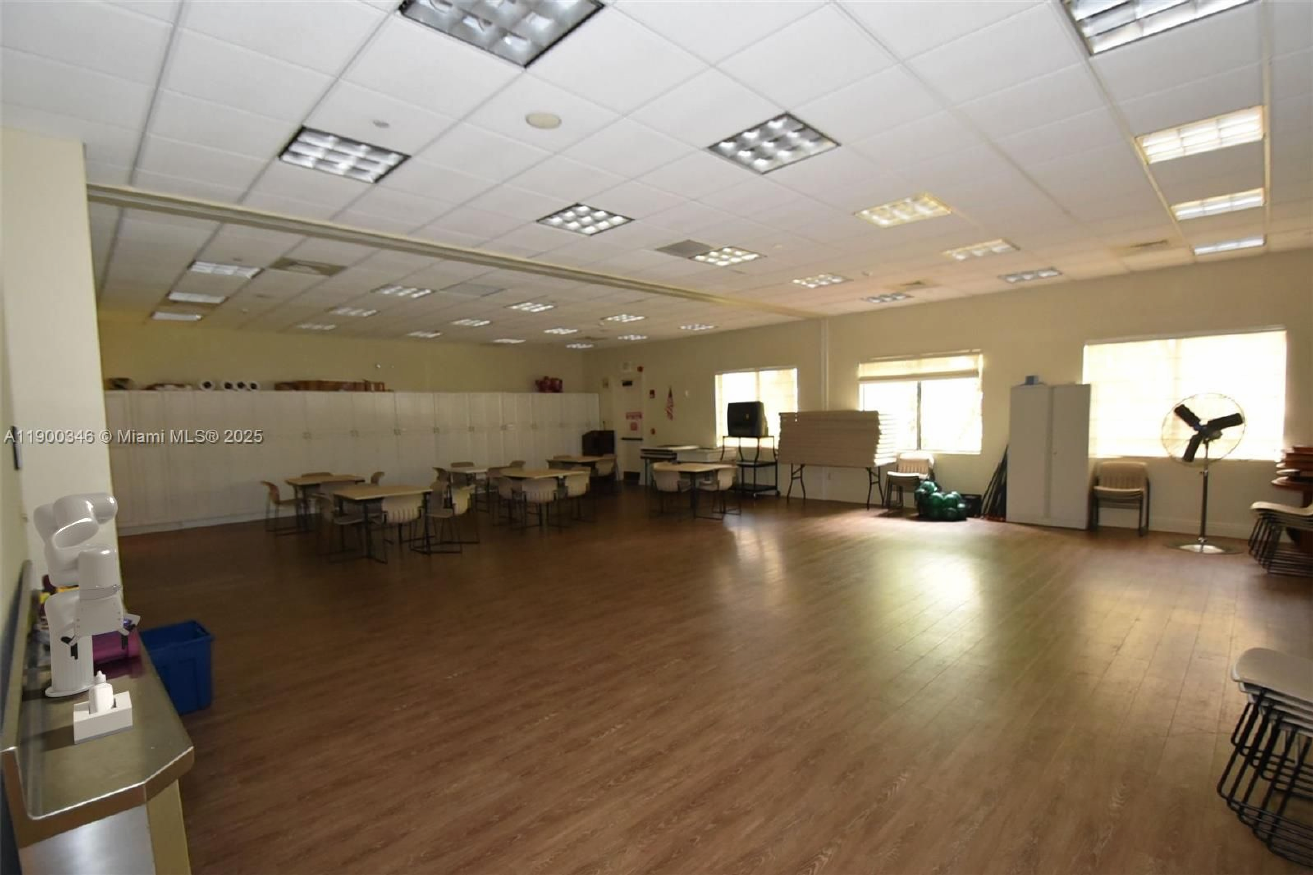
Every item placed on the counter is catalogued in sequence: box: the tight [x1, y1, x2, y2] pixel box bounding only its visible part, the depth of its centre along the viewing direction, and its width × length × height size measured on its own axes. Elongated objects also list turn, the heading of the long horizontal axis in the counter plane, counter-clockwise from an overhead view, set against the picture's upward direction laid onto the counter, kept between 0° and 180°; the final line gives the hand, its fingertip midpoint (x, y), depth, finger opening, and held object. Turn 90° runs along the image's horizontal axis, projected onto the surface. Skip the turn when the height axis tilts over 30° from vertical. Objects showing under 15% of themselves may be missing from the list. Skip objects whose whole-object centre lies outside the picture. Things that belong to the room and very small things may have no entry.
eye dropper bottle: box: [88, 670, 114, 714], centre depth 168 cm, size 4×6×12 cm
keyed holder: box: [73, 690, 134, 745], centre depth 167 cm, size 14×12×6 cm
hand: (100, 653), depth 166 cm, fingers open, 9 cm apart
